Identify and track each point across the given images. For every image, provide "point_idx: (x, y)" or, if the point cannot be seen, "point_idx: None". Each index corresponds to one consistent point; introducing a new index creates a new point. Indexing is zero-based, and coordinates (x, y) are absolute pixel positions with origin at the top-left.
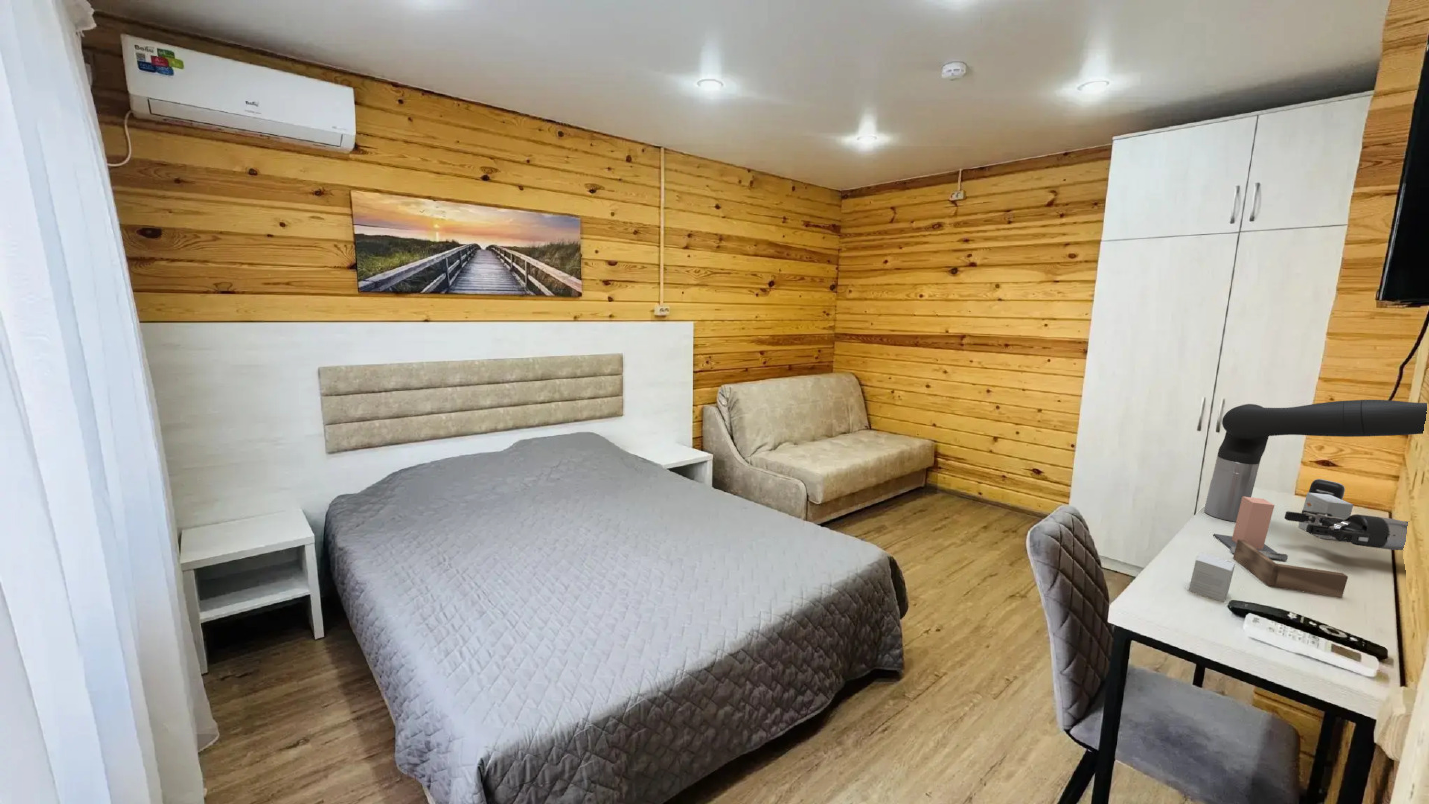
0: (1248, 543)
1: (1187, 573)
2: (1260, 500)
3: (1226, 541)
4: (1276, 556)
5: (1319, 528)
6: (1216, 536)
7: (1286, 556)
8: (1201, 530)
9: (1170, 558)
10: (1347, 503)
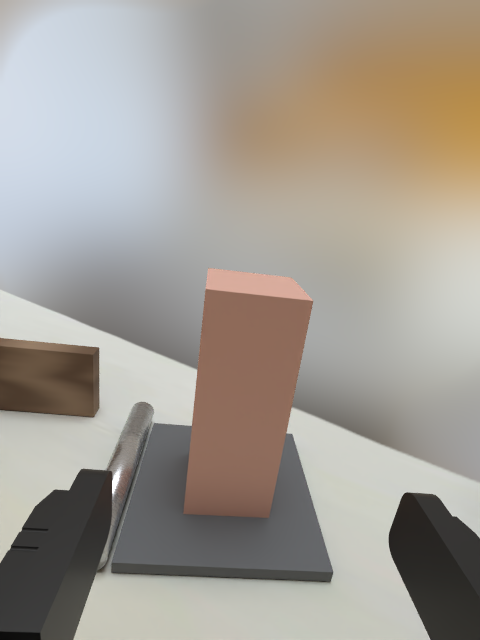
0: (62, 351)
1: (17, 322)
2: (265, 286)
3: None
4: None
5: (30, 534)
6: None
7: None
8: (327, 433)
9: (88, 327)
10: None
